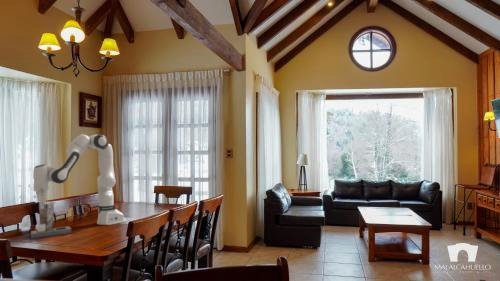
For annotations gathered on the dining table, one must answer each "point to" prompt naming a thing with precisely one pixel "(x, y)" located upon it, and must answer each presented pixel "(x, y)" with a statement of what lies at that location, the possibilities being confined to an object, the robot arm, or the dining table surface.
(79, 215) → the dining table surface
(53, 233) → the grey flat slab
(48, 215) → the stone block
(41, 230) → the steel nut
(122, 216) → the robot arm
